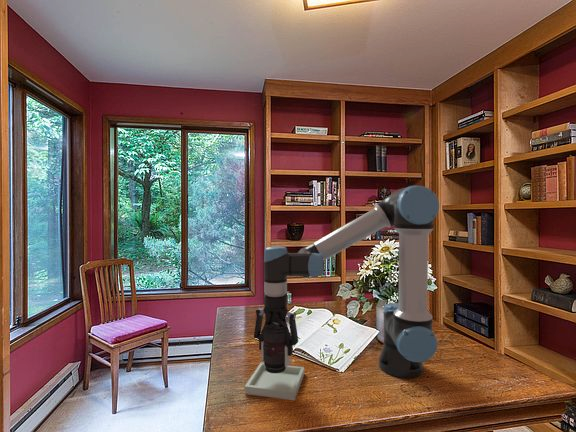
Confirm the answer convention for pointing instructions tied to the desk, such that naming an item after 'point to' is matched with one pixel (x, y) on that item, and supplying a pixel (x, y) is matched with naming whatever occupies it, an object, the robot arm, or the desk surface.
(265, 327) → the camera lens
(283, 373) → the tray
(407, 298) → the robot arm
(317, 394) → the desk surface
